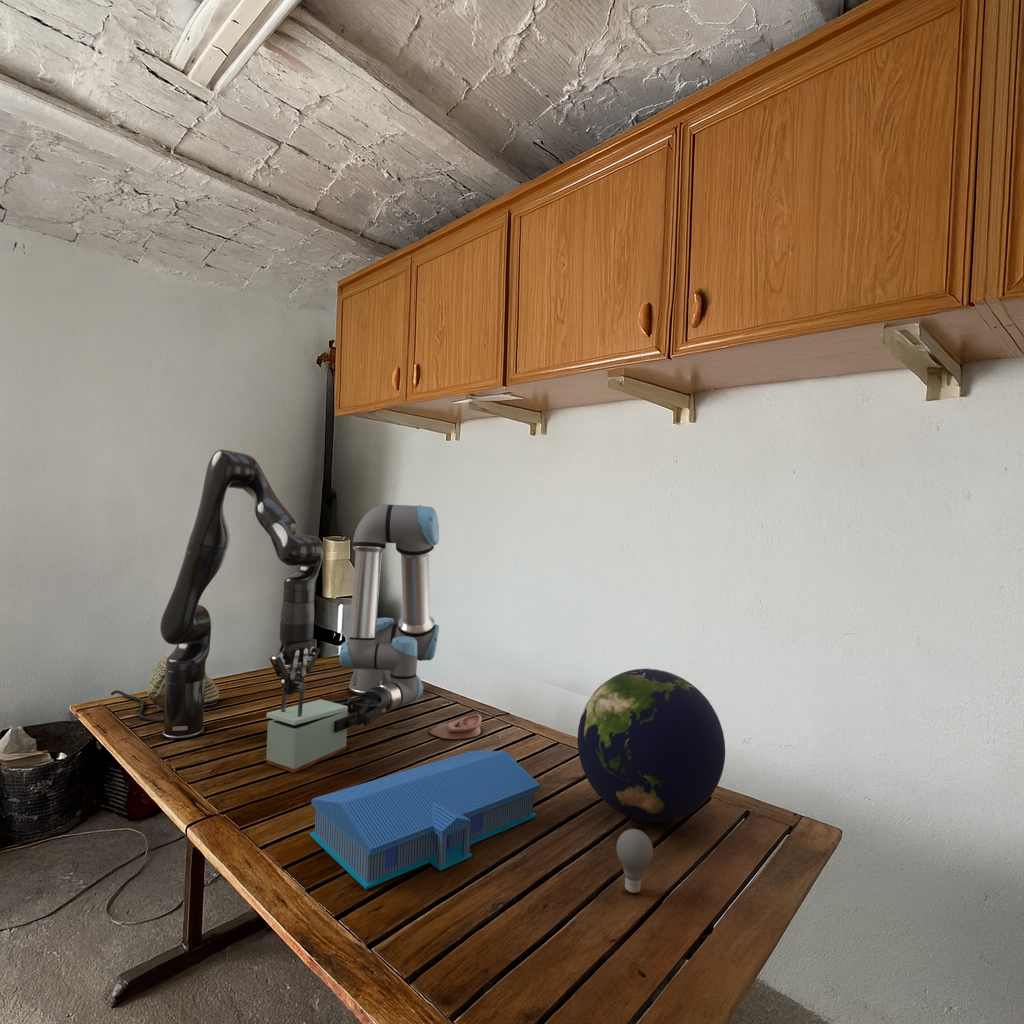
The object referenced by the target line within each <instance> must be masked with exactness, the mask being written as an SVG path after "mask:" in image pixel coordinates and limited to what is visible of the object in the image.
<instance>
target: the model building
mask: <svg viewBox="0 0 1024 1024" xmlns="http://www.w3.org/2000/svg"><path fill="white" fill-rule="evenodd" d="M538 791H541V784H540V783H539V782H538V781H537V780H536V779H535V778H534V777H533V776H532V775H531V774H530V773H529V772H527V771H526V769H524V768H523V766H521V764H519V762H517V761H516V760H515V759H514V757H512V756H511V755H510V754H509V753H508V752H507V750H471V751H467V752H464V753H460V754H457V755H454V756H449V757H447V758H444V759H441V760H437V761H434V762H431V763H427V764H423V765H420V766H417V767H414V768H410V769H407V770H403V771H400V772H397V773H394V774H390V775H387V776H384V777H381V778H380V777H379V778H377V779H374V780H371V781H366V782H364V783H360V784H357V785H354V786H350V787H347V788H344V789H339V790H337V791H334V792H330V793H327V794H324V795H319V796H316V797H314V798H311V806H313V807H314V808H315V817H314V831H311V832H310V833H309V836H310V838H312V839H313V840H314V841H315V842H316V843H317V845H319V846H320V847H321V848H322V849H323V850H325V852H326V853H327V854H329V856H330V857H331V858H333V859H334V860H335V861H336V862H337V863H338V864H339V865H340V866H341V867H342V868H343V869H344V870H345V871H346V872H347V874H349V875H350V876H351V877H352V878H353V879H354V880H355V881H356V882H357V883H359V885H361V886H362V887H363V888H364V890H369V889H371V888H373V887H375V886H378V885H381V884H382V883H385V882H388V881H389V880H392V879H394V878H397V877H399V876H402V875H404V874H406V873H408V872H410V871H413V870H416V869H417V868H420V867H423V866H424V865H427V864H429V863H430V864H431V865H432V866H433V867H434V868H436V869H437V870H438V871H440V872H441V871H443V870H445V869H448V868H450V867H452V866H455V865H457V864H459V863H461V862H463V861H465V860H468V859H471V858H473V853H471V852H470V851H471V846H472V845H474V844H476V843H478V842H482V841H484V840H486V839H488V838H490V837H493V836H495V835H497V834H499V833H502V832H505V831H506V830H507V831H508V830H510V829H512V828H513V827H516V826H519V825H520V824H523V823H525V822H527V821H530V820H532V819H535V818H537V817H538V814H537V813H535V812H534V798H535V797H534V796H535V792H538Z"/></svg>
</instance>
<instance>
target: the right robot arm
mask: <svg viewBox="0 0 1024 1024" xmlns="http://www.w3.org/2000/svg"><path fill="white" fill-rule="evenodd" d="M439 526H440V525H439V518H438V514H437V511H436V510H435V508H433V507H432V506H425V505H421V504H420V505H419V504H418V505H409V504H389V503H385V504H379V505H377V506H374V507H373V508H372V509H370V510H369V511H368V512H367V513H366V514H365V515H364V516H363V517H362V518H361V520H360V521H359V523H358V524H357V527H356V529H355V532H354V535H353V539H352V549H353V550H354V552H355V558H354V570H353V583H352V594H351V595H352V596H351V597H352V598H351V611H350V620H349V621H350V622H349V623H350V624H349V633H348V634H349V636H348V637H349V638H348V641H344V642H343V643H341V645H340V651H339V655H338V657H339V664H340V666H341V667H342V668H344V669H354V670H353V673H352V675H351V678H350V681H349V685H348V691H349V692H350V693H351V694H352V695H356V696H359V697H356V698H352V696H351V695H347V696H344V697H341V698H337V699H332V700H329V701H330V702H333V703H337V704H341V705H345V706H348V710H347V711H348V714H349V715H348V716H347V717H344V718H341V719H339V720H336V721H335V724H334V732H336V733H337V732H339V731H342V730H344V729H347V730H348V729H349V728H351V727H354V726H361V725H363V726H365V727H367V726H369V725H370V724H372V723H374V722H375V721H377V720H378V719H379V718H381V717H384V716H386V715H387V713H389V712H390V711H392V710H393V711H394V710H395V709H398V708H400V707H402V706H405V705H408V704H411V703H413V702H415V701H417V700H418V699H419V698H421V697H422V695H423V693H424V684H423V683H422V682H423V681H422V679H421V677H419V676H418V675H417V671H418V669H417V668H418V661H420V662H422V661H431V660H433V659H434V658H435V655H436V650H437V645H438V638H439V632H440V625H438V624H436V623H435V619H434V617H433V616H431V615H430V614H431V609H430V608H431V607H430V604H431V602H430V554H431V553H432V552H433V551H434V549H435V546H437V545H438V544H439V541H440V527H439ZM387 544H395V550H396V552H397V553H398V554H400V563H401V564H400V566H401V596H402V598H401V601H402V617H401V618H400V619H399V620H398V623H396V622H395V620H394V618H392V617H378V608H379V607H378V606H379V595H380V582H381V581H380V580H381V569H382V567H381V566H382V555H383V553H384V552H385V551H386V547H387V546H386V545H387Z"/></svg>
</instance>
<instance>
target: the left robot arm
mask: <svg viewBox="0 0 1024 1024" xmlns="http://www.w3.org/2000/svg"><path fill="white" fill-rule="evenodd" d="M229 488H230V489H238V490H243V491H244V492H245V493H246V494H247V495H249V496H250V497H251V498H252V500H253V503H254V504H253V508H254V509H253V511H254V516H255V518H256V520H257V522H258V524H259V525H260V526H261V528H262V529H263V530H264V531H265V533H266V534H267V536H269V537H270V540H271V545H272V546H273V549H274V552H275V555H276V557H277V559H278V560H279V561H280V562H281V563H282V564H284V565H286V566H289V567H296V566H297V570H296V571H295V573H293V574H290V575H288V576H286V577H285V578H284V580H283V585H282V602H281V606H280V607H281V608H280V619H279V620H280V622H279V641H280V642H281V643H280V646H279V652H277V653H276V654H274V655H273V654H272V655H270V657H269V661H270V664H271V665H272V668H273V670H274V672H275V675H276V676H277V677H278V678H282V679H284V692H285V694H287V696H293V695H294V694H295V693H297V694H299V693H300V691H297V690H294V681H298V682H302V683H305V676H306V675H307V674H308V673H311V672H312V670H313V668H314V666H315V663H316V661H317V659H318V657H319V654H320V651H321V649H320V648H319V647H314V646H313V643H312V640H313V639H314V630H315V629H314V628H315V627H314V626H315V587H316V586H315V584H316V581H317V578H318V576H319V572H320V569H321V565H322V564H323V559H324V545H323V542H322V541H321V539H320V538H319V537H318V536H316V535H312V534H308V535H307V534H304V535H301V534H300V535H296V534H297V533H298V530H299V524H298V522H297V520H296V519H295V518H294V516H293V515H292V514H291V513H290V511H289V510H288V509H287V508H286V507H285V505H283V503H282V502H281V501H280V499H279V498H278V497H277V495H276V493H275V491H274V490H273V488H272V486H271V484H270V482H269V481H268V479H267V477H266V475H265V473H264V471H263V470H262V468H261V466H260V463H259V462H257V460H256V459H255V458H254V457H253V456H251V454H247V453H242V452H238V451H232V450H228V449H218V450H216V451H215V452H213V454H212V455H211V457H210V459H209V460H208V464H207V466H206V471H205V476H204V480H203V485H202V490H201V491H202V492H201V496H200V501H199V506H198V509H197V513H196V517H195V521H194V524H193V527H192V530H191V533H190V535H189V538H188V542H187V546H186V549H185V553H184V556H183V560H182V563H181V566H180V570H179V572H178V575H177V579H176V582H175V585H174V587H173V590H172V593H171V595H170V597H169V600H168V602H167V604H166V607H165V609H164V611H163V614H162V617H161V620H160V623H159V631H160V635H161V637H162V639H163V641H165V643H167V644H169V645H173V646H175V648H174V649H173V651H172V652H171V653H170V654H168V655H169V656H168V658H167V659H166V674H165V705H164V710H163V717H162V718H152V717H150V716H145V715H143V714H142V713H143V711H144V708H145V706H146V702H145V700H144V699H143V698H141V697H139V696H133V695H130V694H128V693H125V692H124V691H121V690H118V689H117V690H114V691H112V692H111V693H110V696H114V695H115V694H119V695H121V696H122V697H125V698H126V699H130V700H135V701H138V702H141V705H140V709H139V711H138V713H137V716H138V717H139V718H140V719H142V720H144V721H148V722H155V723H156V722H157V723H161V722H163V731H162V737H164V738H166V739H169V740H185V739H190V738H191V739H192V738H194V737H197V736H199V735H202V734H203V732H204V730H205V729H204V722H205V721H204V718H205V706H204V693H205V672H206V664H207V663H206V662H207V658H208V656H209V653H210V649H211V648H210V647H211V639H212V617H211V614H210V612H209V610H208V609H207V608H206V607H205V606H203V605H201V604H199V603H200V600H201V597H202V596H203V594H204V592H205V590H206V589H207V587H208V586H209V585H210V583H211V582H212V581H213V579H214V578H215V577H216V575H217V573H218V572H219V571H220V570H221V568H222V567H223V563H224V562H225V558H226V555H227V552H228V548H229V546H230V540H231V537H230V536H231V535H230V529H229V526H228V523H227V520H226V517H225V512H224V504H225V500H226V494H227V491H228V489H229Z"/></svg>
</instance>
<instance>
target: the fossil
mask: <svg viewBox="0 0 1024 1024" xmlns="http://www.w3.org/2000/svg"><path fill="white" fill-rule="evenodd" d="M169 655H170V654H165V655H164V656H163V657H162V658H161V659H160V660H159V662H158V663H157V666H156V667H155V669H154V670H153V672H152V675H151V677H150V680H149V684H148V688H147V697H148V699H149V700H150V701H152V703H153V704H154V706H155V711H158V712H159V711H162V712H163V711H164V705H165V674H166V659H167V658H168V656H169ZM220 698H221V696H220V690H219V688H218V686H217V685H216V683H215V682H214V681H213V679H212V678H211V677H209V675H208V674H207V672H206V671H205V693H204V707H207V706H213V705H215V704H217V703H218V701H219V699H220Z"/></svg>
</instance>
